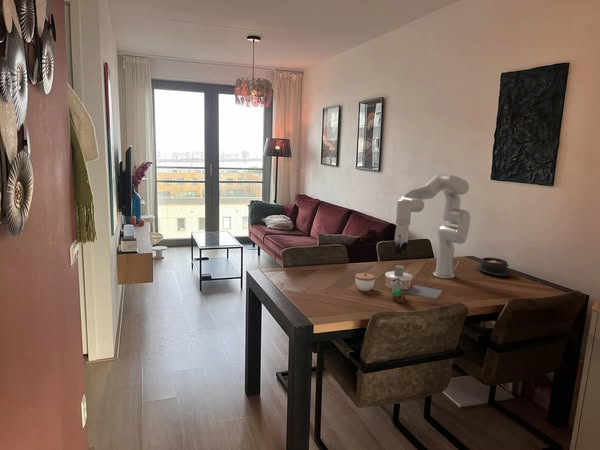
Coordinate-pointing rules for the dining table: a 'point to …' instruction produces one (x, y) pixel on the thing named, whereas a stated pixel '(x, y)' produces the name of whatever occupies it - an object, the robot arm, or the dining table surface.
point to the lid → (399, 274)
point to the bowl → (388, 281)
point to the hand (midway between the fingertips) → (401, 252)
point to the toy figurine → (398, 291)
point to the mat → (424, 291)
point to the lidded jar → (364, 281)
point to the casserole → (494, 266)
